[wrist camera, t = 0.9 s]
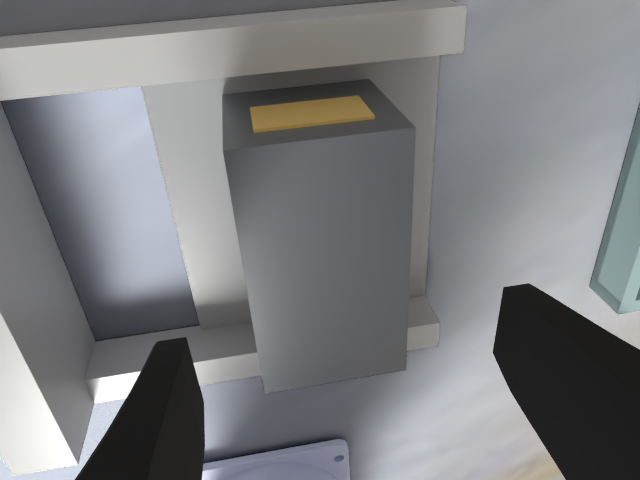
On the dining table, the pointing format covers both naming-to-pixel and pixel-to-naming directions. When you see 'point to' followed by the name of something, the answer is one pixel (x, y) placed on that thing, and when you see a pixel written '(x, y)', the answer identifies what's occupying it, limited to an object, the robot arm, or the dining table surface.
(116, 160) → the dining table surface
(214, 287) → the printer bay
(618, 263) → the tray
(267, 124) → the grey rectangular block
